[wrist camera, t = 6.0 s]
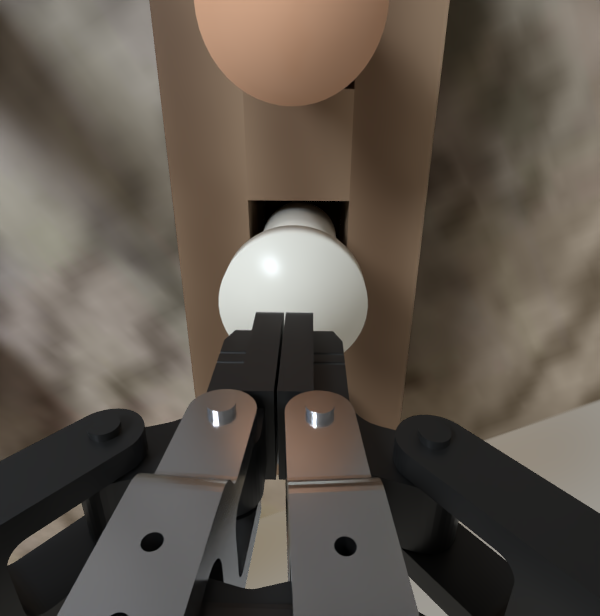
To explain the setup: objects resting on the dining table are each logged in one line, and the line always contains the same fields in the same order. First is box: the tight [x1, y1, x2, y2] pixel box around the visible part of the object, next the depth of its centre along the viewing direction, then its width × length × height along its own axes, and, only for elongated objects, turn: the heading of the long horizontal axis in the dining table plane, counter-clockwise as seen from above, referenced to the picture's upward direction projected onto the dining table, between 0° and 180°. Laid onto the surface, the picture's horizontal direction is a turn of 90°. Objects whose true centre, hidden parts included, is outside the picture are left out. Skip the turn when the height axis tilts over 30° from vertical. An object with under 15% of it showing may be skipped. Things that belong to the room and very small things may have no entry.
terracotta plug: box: [194, 0, 389, 106], centre depth 14 cm, size 5×5×7 cm
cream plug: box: [219, 202, 368, 352], centre depth 18 cm, size 5×5×7 cm
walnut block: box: [149, 0, 450, 475], centre depth 22 cm, size 10×25×6 cm, turn 0°
